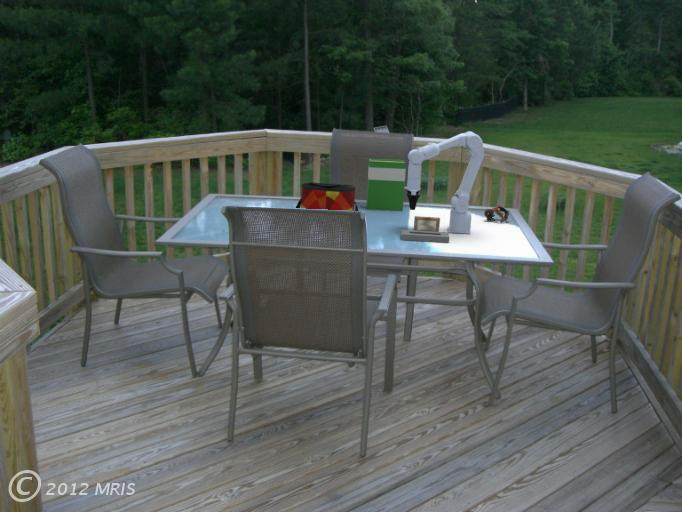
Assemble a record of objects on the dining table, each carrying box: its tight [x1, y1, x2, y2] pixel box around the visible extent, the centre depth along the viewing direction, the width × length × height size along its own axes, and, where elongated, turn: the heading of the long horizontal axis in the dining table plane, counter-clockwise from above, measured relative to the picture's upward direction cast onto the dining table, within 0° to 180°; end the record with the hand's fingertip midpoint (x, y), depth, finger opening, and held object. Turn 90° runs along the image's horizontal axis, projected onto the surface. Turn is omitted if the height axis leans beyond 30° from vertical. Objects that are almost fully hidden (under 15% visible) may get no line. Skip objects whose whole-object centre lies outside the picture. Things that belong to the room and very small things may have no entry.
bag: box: [295, 181, 359, 212], centre depth 343 cm, size 30×14×16 cm, turn 83°
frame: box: [413, 215, 441, 232], centre depth 327 cm, size 11×2×7 cm, turn 86°
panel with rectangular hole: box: [400, 229, 450, 244], centre depth 317 cm, size 20×8×2 cm, turn 86°
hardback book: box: [365, 158, 407, 212], centre depth 366 cm, size 18×7×24 cm, turn 90°
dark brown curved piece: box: [483, 205, 510, 223], centre depth 354 cm, size 12×10×8 cm
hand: (412, 207), depth 328 cm, fingers open, 7 cm apart
